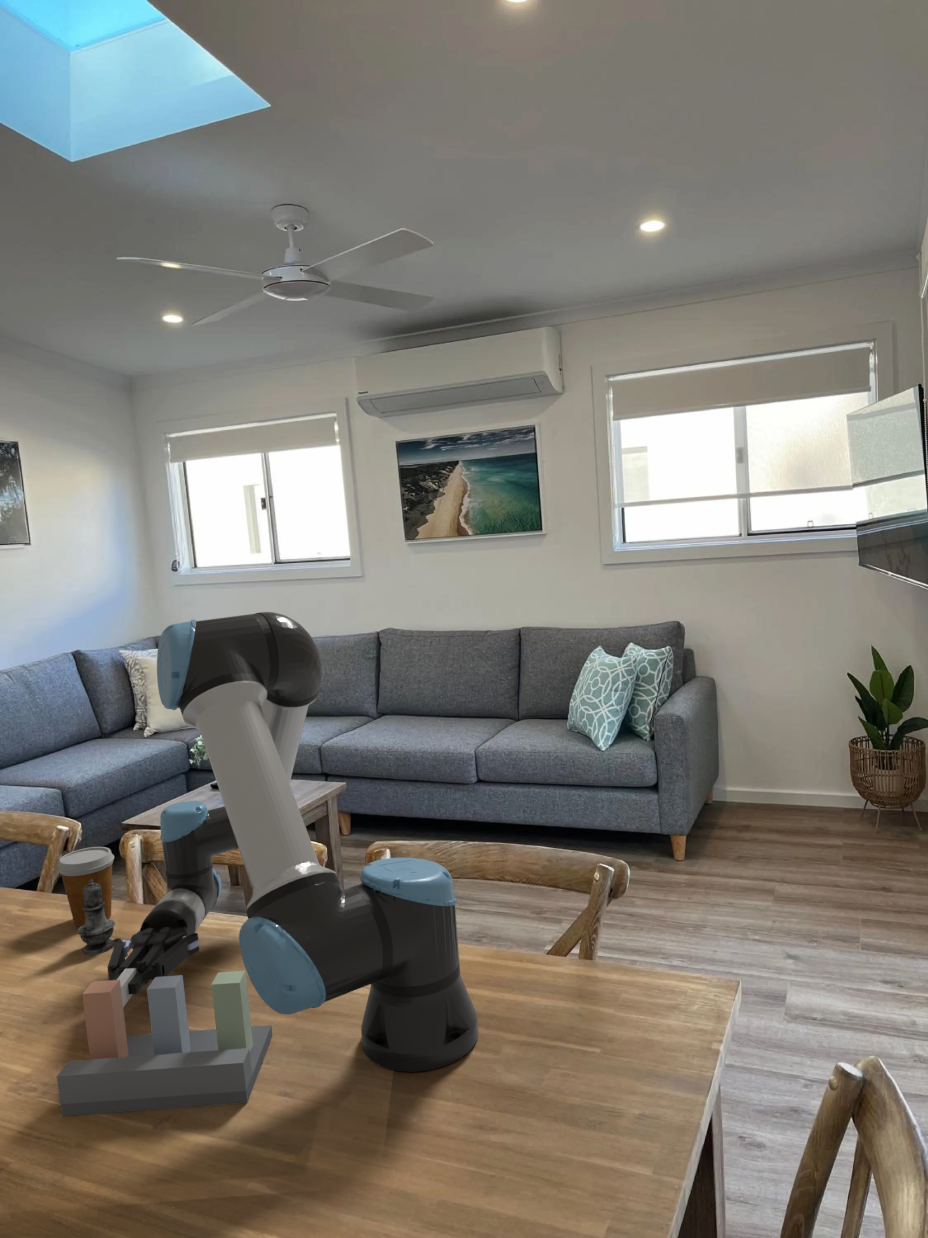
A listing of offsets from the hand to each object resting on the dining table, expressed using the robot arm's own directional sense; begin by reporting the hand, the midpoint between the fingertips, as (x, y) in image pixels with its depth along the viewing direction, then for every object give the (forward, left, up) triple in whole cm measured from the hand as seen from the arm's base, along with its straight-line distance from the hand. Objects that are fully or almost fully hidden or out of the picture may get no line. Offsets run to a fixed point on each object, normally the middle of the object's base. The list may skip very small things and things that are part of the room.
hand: (112, 1003), depth 114 cm
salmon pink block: (0, +3, -6) cm, 7 cm away
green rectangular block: (-16, +3, -6) cm, 18 cm away
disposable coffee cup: (+23, -46, -8) cm, 52 cm away
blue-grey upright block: (-8, +3, -6) cm, 11 cm away
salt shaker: (+17, -34, -8) cm, 39 cm away
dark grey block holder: (-8, +4, -8) cm, 12 cm away
